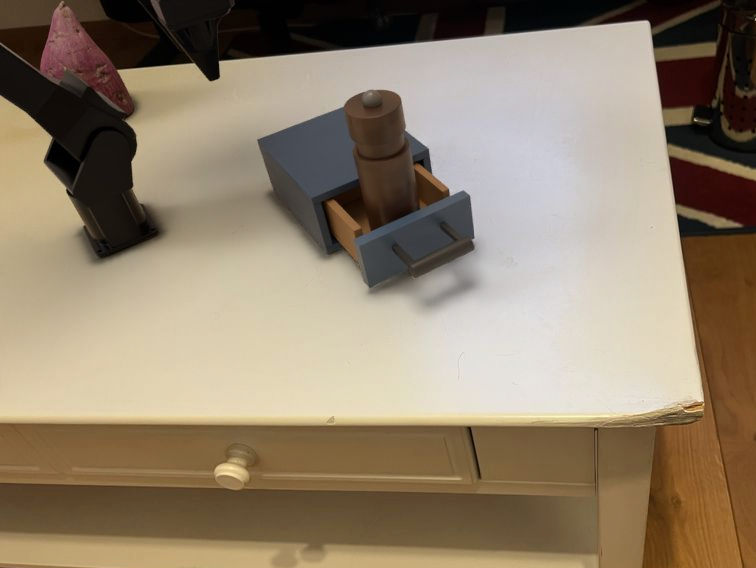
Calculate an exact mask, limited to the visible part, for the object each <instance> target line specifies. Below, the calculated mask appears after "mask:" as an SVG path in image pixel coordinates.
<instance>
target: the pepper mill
mask: <svg viewBox="0 0 756 568" xmlns="http://www.w3.org/2000/svg"><path fill="white" fill-rule="evenodd" d="M343 107H344V112H345V117H346V121H347V126H348V130H349V134H350V137H351V139H352V140H353V141H354V142H355V145H354V147H353V151H352V152H353V157H354V161H355V166H356V170H357V174H358V179H359V183H360V188H361V192H362V196H363V201H364V205H365V209H366V214H367V218H368V222H369V227H370V231H373V230H376V229H378V228H380V227H382V226H384V225H387V224H389V223H391V222H393V221H396V220H398V219H400V218H402V217H405V216H407V215H409V214H411V213H413V212H416V211H418V210H420V202H419V196H418V190H417V184H416V178H415V172H414V166H413V160H412V154H411V148H410V142H409V140H408V139H407V137H405V136H404V134H403V133H404V132H405V131H406V129H407V124H406V119H405V113H404V107H403V101H402V97H401V96H400V95H399V94H398V93H397V92H395V91H392V90H388V89H367V90H365V91H363V92H360V93H357V94H355V95H353V96H351V97H350V98H349V99H347V100H346V101H345V103H344V105H343Z"/></svg>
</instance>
